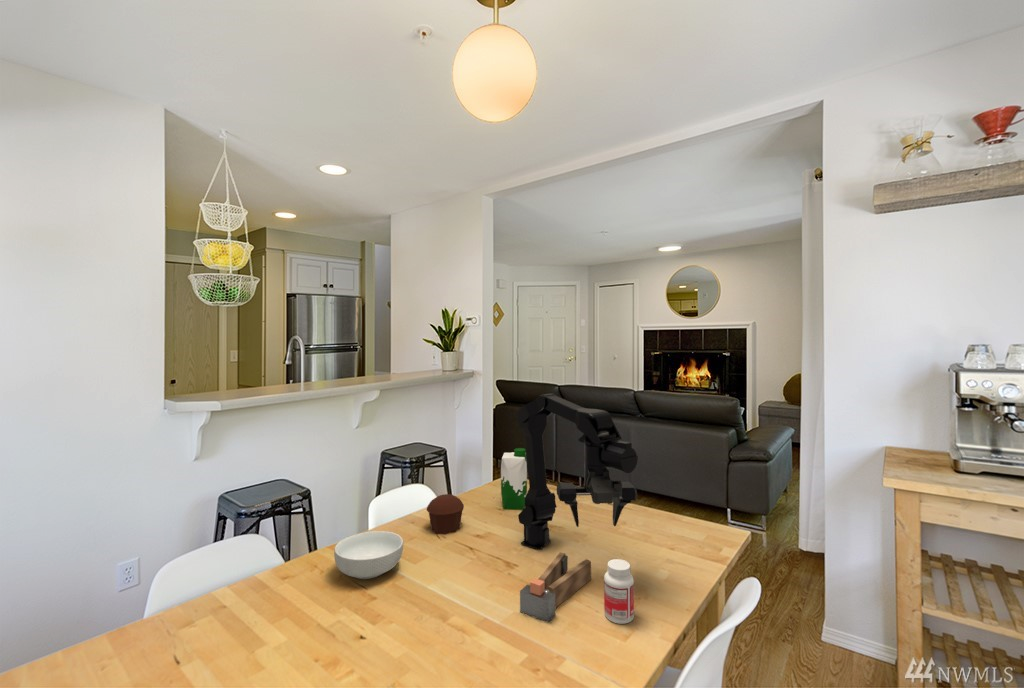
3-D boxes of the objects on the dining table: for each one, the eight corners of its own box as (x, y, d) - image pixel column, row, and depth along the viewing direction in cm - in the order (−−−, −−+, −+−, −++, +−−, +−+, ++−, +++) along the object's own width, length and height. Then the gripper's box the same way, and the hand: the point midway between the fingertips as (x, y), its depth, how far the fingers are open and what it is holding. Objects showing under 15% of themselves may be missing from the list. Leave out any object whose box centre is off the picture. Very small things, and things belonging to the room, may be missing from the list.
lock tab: (530, 592, 97) (530, 582, 97) (535, 588, 99) (534, 578, 99) (540, 596, 96) (540, 585, 96) (544, 591, 98) (544, 581, 98)
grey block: (520, 611, 98) (519, 590, 98) (528, 603, 101) (528, 583, 101) (548, 622, 94) (548, 600, 94) (556, 613, 97) (556, 592, 97)
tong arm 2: (553, 609, 99) (553, 588, 99) (545, 605, 100) (545, 585, 100) (591, 579, 111) (591, 560, 111) (584, 576, 112) (583, 558, 112)
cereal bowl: (416, 570, 116) (416, 542, 116) (355, 597, 104) (355, 567, 104) (381, 549, 128) (380, 524, 128) (322, 572, 116) (322, 544, 115)
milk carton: (526, 511, 155) (525, 452, 155) (499, 510, 156) (499, 452, 156) (527, 501, 164) (527, 446, 163) (502, 501, 165) (502, 446, 164)
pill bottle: (621, 604, 100) (621, 554, 100) (640, 619, 95) (640, 567, 95) (598, 612, 98) (598, 561, 98) (616, 628, 92) (616, 574, 92)
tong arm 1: (543, 605, 100) (543, 584, 100) (535, 602, 101) (535, 582, 101) (567, 571, 115) (567, 553, 115) (560, 569, 116) (560, 552, 115)
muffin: (449, 517, 150) (449, 487, 149) (471, 527, 142) (471, 495, 142) (419, 529, 141) (418, 497, 141) (440, 539, 133) (440, 506, 133)
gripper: (563, 473, 103) (563, 541, 103) (645, 472, 104) (644, 540, 104) (556, 459, 114) (556, 521, 114) (630, 458, 115) (629, 520, 115)
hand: (595, 525), depth 112 cm, fingers open, 9 cm apart
